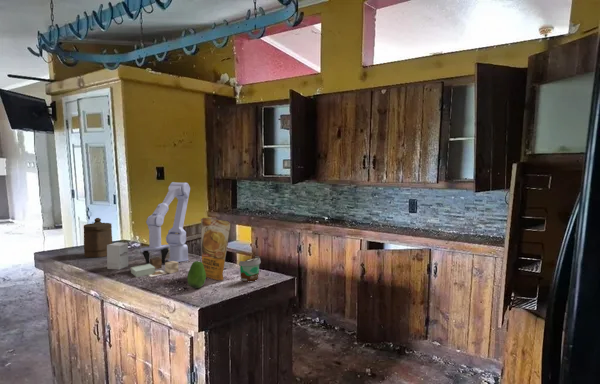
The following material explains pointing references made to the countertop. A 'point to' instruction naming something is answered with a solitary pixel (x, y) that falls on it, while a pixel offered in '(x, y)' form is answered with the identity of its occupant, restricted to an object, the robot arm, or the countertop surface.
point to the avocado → (196, 275)
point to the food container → (249, 269)
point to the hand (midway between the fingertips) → (155, 264)
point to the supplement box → (117, 255)
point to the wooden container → (97, 238)
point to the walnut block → (156, 262)
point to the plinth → (143, 270)
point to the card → (158, 273)
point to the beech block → (171, 267)
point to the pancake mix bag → (214, 246)
